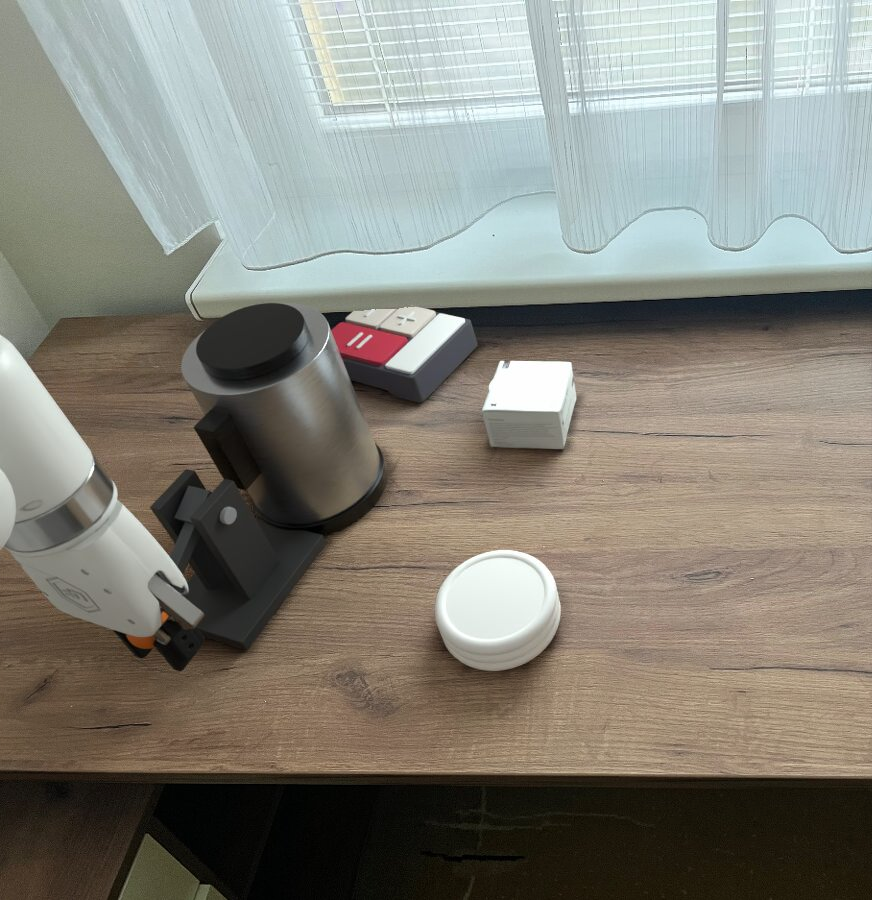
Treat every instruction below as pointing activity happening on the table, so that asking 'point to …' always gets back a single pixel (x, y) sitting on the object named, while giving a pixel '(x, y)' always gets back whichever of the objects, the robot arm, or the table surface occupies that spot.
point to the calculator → (403, 348)
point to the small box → (530, 404)
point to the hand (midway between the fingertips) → (171, 648)
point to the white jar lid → (498, 610)
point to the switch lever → (180, 546)
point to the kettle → (285, 417)
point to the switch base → (236, 560)
